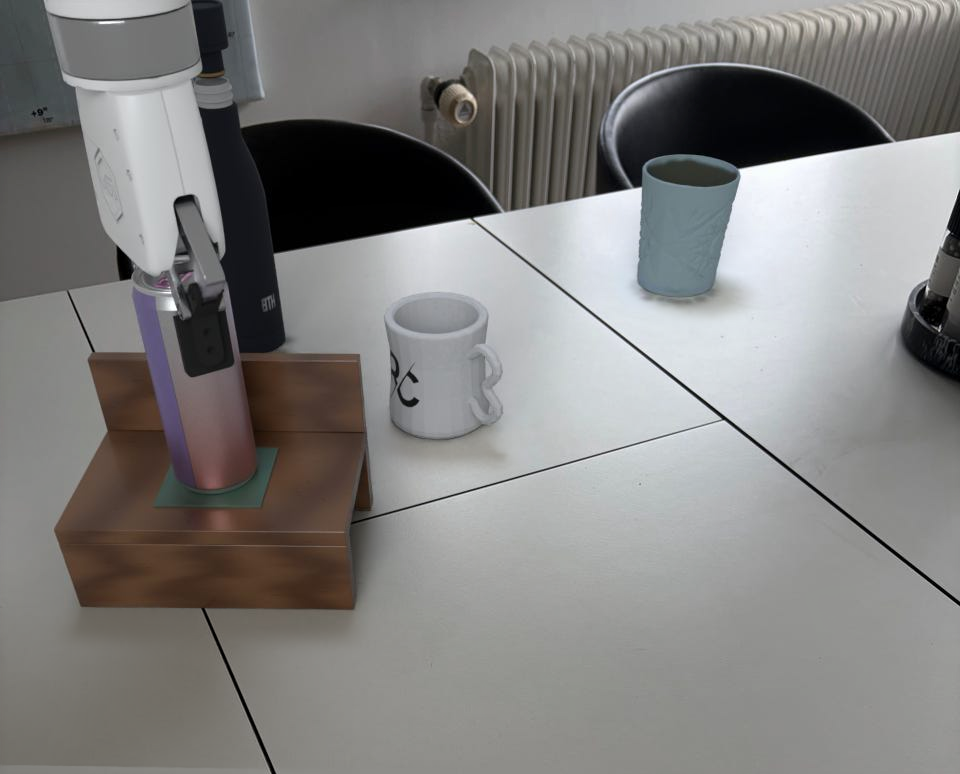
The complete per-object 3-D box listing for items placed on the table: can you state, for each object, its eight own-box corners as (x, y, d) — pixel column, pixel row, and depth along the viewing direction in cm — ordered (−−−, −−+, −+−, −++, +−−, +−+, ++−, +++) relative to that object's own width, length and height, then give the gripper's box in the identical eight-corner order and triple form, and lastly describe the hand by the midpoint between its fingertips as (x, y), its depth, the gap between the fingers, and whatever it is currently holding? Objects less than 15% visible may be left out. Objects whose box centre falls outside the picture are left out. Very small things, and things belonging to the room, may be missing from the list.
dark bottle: (229, 325, 109) (170, -5, 89) (290, 326, 109) (244, -5, 88) (216, 354, 104) (150, 12, 84) (279, 355, 104) (228, 12, 84)
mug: (369, 417, 95) (360, 313, 88) (441, 382, 100) (438, 281, 93) (464, 469, 89) (462, 362, 82) (536, 429, 93) (540, 325, 87)
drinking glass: (621, 266, 120) (631, 156, 112) (705, 259, 121) (720, 150, 113) (647, 304, 112) (660, 189, 104) (736, 296, 114) (755, 182, 105)
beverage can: (160, 489, 74) (108, 285, 64) (201, 446, 78) (159, 249, 68) (235, 503, 73) (195, 298, 63) (273, 459, 77) (241, 259, 67)
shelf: (80, 607, 76) (26, 454, 67) (132, 496, 86) (91, 351, 77) (353, 610, 75) (336, 456, 66) (373, 498, 86) (360, 353, 77)
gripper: (15, 21, 60) (94, 315, 73) (110, 92, 50) (184, 423, 62) (141, 5, 63) (196, 290, 76) (255, 69, 53) (299, 388, 65)
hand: (190, 347), depth 69 cm, fingers closed on beverage can, 6 cm apart
